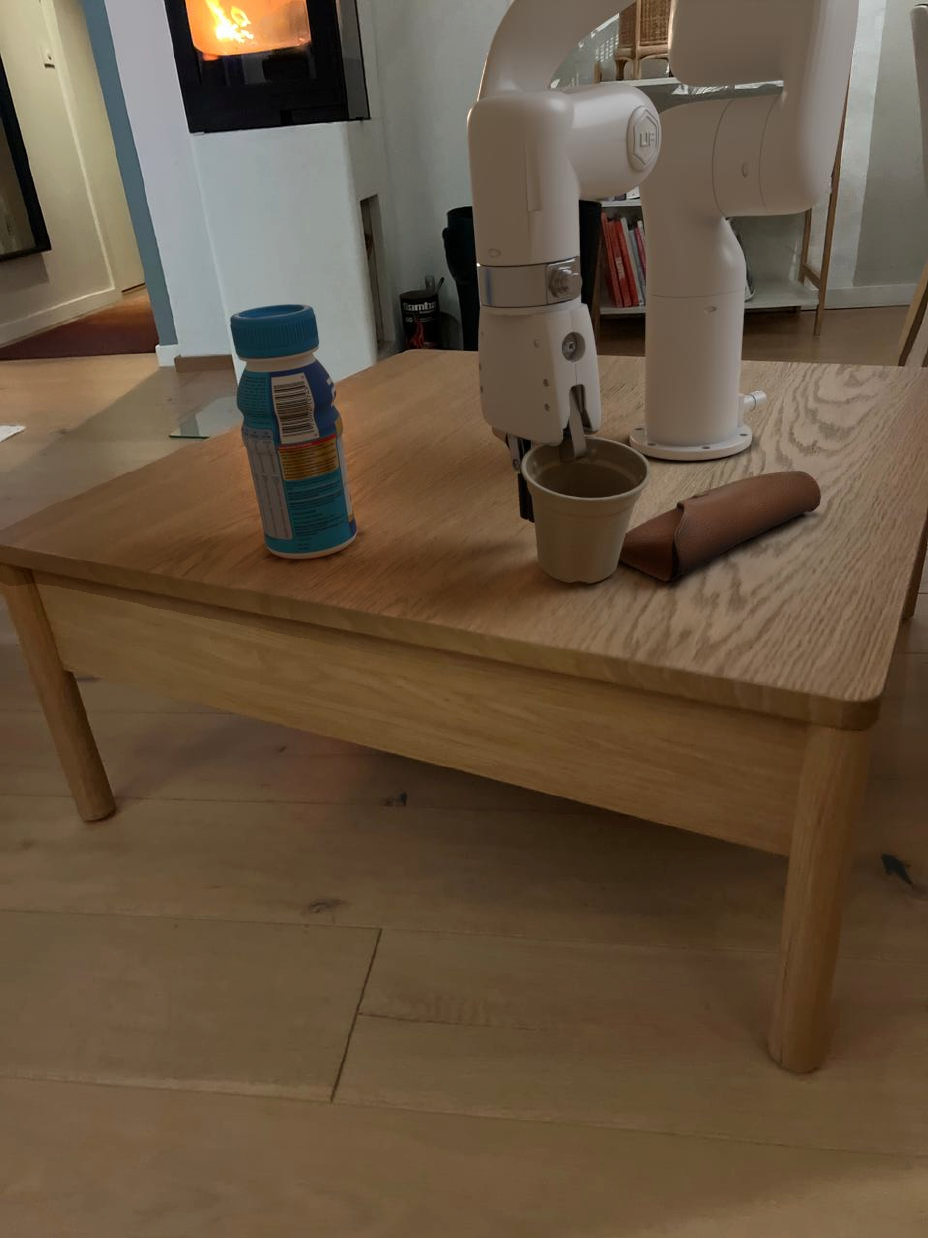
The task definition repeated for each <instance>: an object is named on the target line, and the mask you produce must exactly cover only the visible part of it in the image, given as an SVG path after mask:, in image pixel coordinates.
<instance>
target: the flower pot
mask: <svg viewBox="0 0 928 1238" xmlns="http://www.w3.org/2000/svg"><path fill="white" fill-rule="evenodd" d="M584 436H585V441H586V447H587V457H586V458H583V459H580V460H577V461H574V462H561V461H560V456H559V447H560V446H562V444H563V440H562V442H561V444H559V445H557V446H547V445H546V444H543V443H540V444H539V445H537V446H535V447H533V448H532V449H531V450H529V451H528V452H527V453H526V454H525V456H524V457H523V460H522V462H521V472H522V475H523V477H524V478H525V480H526V481H527V486H528V490H529V492H530V494H531V496H532V504H533V513H534V522H535V523H534V529H535V541H536V550H537V552H536V553H537V560H538V564H539V566H540V568H541V570H543V571H544V572H545V573H546V574H547V575H548V576H550V577H552V578H554V579H556V580H558V581H561V582H564V583H568V584H572V583H575V582H582V583H587V584H594V583H598V582H601V581H604V580H605V579H607V578H608V577H610V576H611V575H612V574H613V573H614V572H615V571H616V569H617V568H618V564H619V556H620V552H621V549H622V545H623V542H624V538H625V535H626V533H627V532H628V528H629V525H630V521H631V517H632V515H633V511H634V508H635V505H636V503H637V502H638V501H639V499H640V497H641V495H642V493H643V490H644V489H645V488H646V487H647V486H648V484H649V483H650V479H651V477H652V467H651V464H650V462H649V460H648V459H647V458H646V457H645V456H644V454H642V453H640V452H638V451H636V450H635V449H633V448H632V447H631V446H629V445H627V444H624V443H623V442H619V441H616V440H613V439H610V438H609V439H608V438H605V437H597V436H591V435H584Z"/></svg>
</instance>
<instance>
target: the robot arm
mask: <svg viewBox="0 0 928 1238" xmlns="http://www.w3.org/2000/svg"><path fill="white" fill-rule="evenodd" d="M637 1H638V0H513V2H511V4H510V6H509V7H508V9H507V10H506V11H505V13H504V15H503V17H502V19H501V20H500V23H499V25H498V26H497V28H496V30H495V32H494V35H493V37H492V40H491V41H490V45H489V48H488V51H487V55H486V58H485V62H484V67H483V73H482V76H481V80H480V86H479V91H478V96H477V101H475V103H473V104H472V105H471V107H470V108H469V111H468V114H467V119H466V138H467V139H466V141H467V157H468V166H469V167H468V169H469V179H470V193H471V194H470V195H471V207H472V218H473V219H472V221H473V231H474V245H475V259H476V271H477V272H476V273H477V285H478V298H479V307H480V308H479V317H478V320H479V321H478V337H477V338H478V341H477V342H478V343H477V347H478V348H477V354H478V355H477V359H478V360H477V362H478V364H477V365H478V386H479V397H480V398H479V399H480V406H481V411H482V417H483V419H484V421H485V423H487V425H489V426H490V427H491V432H492V434H493V436H494V437H496V438H497V439H499V440H500V441H501V442H503V443H504V444H505V445H506V447H507V449H508V450H509V454H510V460H511V465H512V468H513V470H514V472H517V475H516V476H517V489H518V502H519V503H518V505H519V517H520V518H521V519H523V520H525V521H528V522H530V523H532V524H535V522H534V513H533V504H532V496H531V494H530V492H529V490H528V486H527V481H526V480H525V478H524V477H523V475H522V472H521V462H522V460H523V457H524V456H525V454H526V453H527V452H528V451H529V450H531V449H532V448H533V447H535V446H537V445H539V444H540V443H543V444H546V445H547V446H557V445H559V444H561V442H562V440H563V444H562V446H560V447H559V456H560V461H561V462H574V461H577V460H580V459H583V458H586V457H587V447H586V441H585V436H592V435H595V434H597V433H599V432H600V429H601V426H602V422H601V421H602V405H601V403H602V401H601V387H600V386H601V385H600V374H599V363H598V354H597V346H596V340H595V334H594V330H593V324H592V319H591V315H590V312H589V307H588V304H587V303H583V302H582V287H583V277H582V276H581V255H580V254H581V250H580V245H581V244H580V207H579V201H580V200H587V199H588V200H589V199H608V198H614V197H619V196H622V195H625V194H627V193H630V192H631V191H633V190H635V189H636V188H637V189H638V193H639V201H640V207H641V212H642V219H643V230H644V245H645V345H644V346H645V347H644V349H645V353H644V422H642V423H640V424H638V425H636V426H634V428H632V429H631V431H630V432H629V444H630V447H631V448H633V449H635V450H636V451H638V452H639V453H640V454H642V455H645V456H648V457H652V458H656V459H662V460H669V461H670V460H671V461H706V460H713V459H720V458H725V457H729V456H733V455H736V454H738V453H740V452H742V451H744V450H745V449H747V448H748V447H750V445H751V444H752V442H753V441H752V440H753V430H752V428H750V427H749V425H747V424H745V423H744V417H746V416H747V414H748V413H749V412H753V411H756V410H760V409H763V408H764V407H766V405H767V403H768V397H767V395H766V394H767V393H765V392H764V391H763V390H756V391H751V392H749V393H746V394H745V393H742V392H740V385H741V369H742V368H741V367H742V352H743V351H742V350H743V337H744V336H743V333H744V315H745V302H746V301H745V300H746V286H747V264H746V258H745V256H744V255H745V254H744V251H743V249H742V247H741V244H740V243H739V240H738V239H737V237H736V235H735V234H734V232H733V230H732V229H731V227H730V226H729V225H730V224H728V222H727V219H726V218H732V217H763V216H765V217H766V216H785V215H794V214H795V215H796V214H800V213H803V212H806V211H808V210H810V209H813V208H814V207H815V206H816V205H817V204H818V203H819V202H820V201H821V199H822V198H823V197H824V195H825V193H826V191H827V189H828V186H829V183H830V181H831V177H832V174H833V170H834V166H835V162H836V155H837V151H838V146H839V145H838V144H839V139H840V133H841V126H842V122H843V121H842V120H843V114H844V109H845V103H846V98H847V97H846V95H847V90H848V85H849V78H850V73H851V67H852V60H853V54H854V48H855V42H856V36H857V28H858V19H859V7H860V6H859V5H860V0H671V1H670V9H669V18H668V29H667V48H666V49H667V50H666V51H667V60H668V65H669V69H670V73H671V74H672V76H673V77H674V78H675V79H676V81H677V82H679V83H681V84H682V85H685V86H687V87H694V88H720V87H730V86H731V87H732V86H740V85H750V84H759V83H768V82H777V81H778V82H779V81H781V82H782V84H783V86H782V91H781V93H779V94H778V93H777V94H768V95H758V96H747V97H729V98H721V99H711V100H710V99H709V100H701V101H694V102H688V103H683V104H679V105H676V106H673V107H669V108H667V109H666V110H663V111H662V112H659V113H658V111H657V109H656V106H655V104H654V103H653V101H652V100H651V98H650V97H649V96H648V94H646V93H645V92H644V91H642V90H641V89H639V88H637V87H636V86H634V85H631V84H628V83H624V82H613V81H612V82H611V81H609V82H600V83H590V84H583V85H568V86H559V87H558V86H557V87H551V88H549V85H550V83H551V81H552V79H553V78H554V75H555V73H556V72H557V70H558V68H559V67H560V66H561V64H562V63H563V62H564V60H565V59H566V58H567V56H569V54H570V53H571V52H572V51H573V50H574V48H575V47H576V46H578V44H580V43H581V42H582V41H583V40H584V39H585V38H587V36H589V35H590V34H591V33H592V32H594V31H595V30H597V29H598V28H599V27H601V26H602V25H604V24H605V23H607V22H608V21H610V20H611V19H613V18H614V17H616V16H617V15H618V14H620V13H621V12H623V11H624V10H625V9H627V8H628V7H630V6H631V5H632V4H634V3H635V2H637Z"/></svg>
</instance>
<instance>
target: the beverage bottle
mask: <svg viewBox="0 0 928 1238" xmlns="http://www.w3.org/2000/svg"><path fill="white" fill-rule="evenodd" d="M229 321H230V324H229V326H230V332H231V337H232V341H233V346H234V350H235V354H236V356H237V358H238V360H240V361H242V362H245V367H244V368H243V371H242V373H241V376H240V378H239V382H238V385H237V389H236V407H237V409H238V411H239V412H240V413H241V414H242V416H243V421H242V423H241V428H240V434H241V440H242V443H243V445H244V447H245V450H246V454H247V459H248V463H249V468H250V472H251V477H252V482H253V486H254V491H255V496H256V500H257V505H258V511H259V515H260V520H261V525H262V529H263V537H264V542H265V546H266V548H267V549H268V551H269V552H270V553H272V554H273V555H275V556H277V557H279V558H284V559H289V560H310V559H317V558H321V557H325V556H326V557H327V556H328V555H333V554H335V553H337V552H339V551H342V550H344V549H345V548H347V547H349V546H350V545H351V544H352V543H353V542H354V541H355V539H356V537H357V534H358V527H357V521H356V518H355V513H354V508H353V507H354V506H353V501H352V496H351V489H350V483H349V482H350V481H349V474H348V468H347V461H346V455H345V454H346V453H345V448H344V447H345V446H344V440H343V433H344V423H343V420H342V416H341V413H340V412H339V410H338V409H337V408H336V406H335V400H336V396H337V389H336V386H335V384H334V381H333V379H332V377H331V376H330V374H329V372H328V371H327V369H326V368H325V366H324V365H323V364H322V363H321V361H319V359H317V357H316V356H315V355H314V353H315V352H317V351H318V350H319V348H320V346H319V345H320V338H319V329H318V323H317V317H316V313H315V310H314V308H313V307H312V306H310V305H308V304H303V303H301V304H299V303H287V304H274V305H266V306H259V307H254V308H250V309H245V310H242V311H239V312H236V313H234V314H232V315H231V316H230V318H229Z"/></svg>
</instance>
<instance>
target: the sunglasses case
mask: <svg viewBox="0 0 928 1238" xmlns="http://www.w3.org/2000/svg"><path fill="white" fill-rule="evenodd" d="M821 498H822V494H821V488H820V485H819V484H818V482H817V480H816V479H815V478H814V477H813V476H812V475H810V474H809V473H808V472H806V471H801V470H790V471H787V470H786V471H775V472H767V473H763V474H758V475H753V476H749V477H745V478H741V479H738V480H735V481H734V480H733V481H731V482H729V483H726V484H724V485H720V486H716V487H714V488H710V489H707V490H704V491H701V492H698V493H695V494H693V495H691V496H690V497H687V498H685V499H683V500H679V501H678V502H677V503H676V507H675V508H673V509H670V510H667V511H665V512H663V513H661V514H659V515H657V516H654V517H653V518H650V519H648V520H646V521H645V522H642V523H641V524H639V525H637V526H636V527H633V528H632V529H630V530H627V531H626V535H625V538H624V542H623V545H622V549H621V552H620V556H619V560H618V562H621V563H622V564H624V565H625V566H628V567H629V568H631V569H633V570H636V571H637V572H640V573H642V574H645V575H647V576H649V577H651V578H654V579H656V580H657V581H661V582H663V583H669V582H674V581H675V580H676V579H677V578H678V577H679V576H681V575H687V574H689V573H690V572H692V571H695V569H697V568H700V567H701V566H703V565H704V564H706V563H707V562H709V561H711V560H714V559H715V558H716V557H718V556H719V555H720V554H722V553H725V552H727V551H729V550H730V549H732V548H733V547H735V546H737V545H738V544H739V543H744V542H745V541H748V540H749V539H752V538H755V537H756V536H758V535H761V534H762V533H764V532H766V531H768V530H769V529H771V528H774V527H777V526H779V525H782V524H784V523H786V522H787V521H789V520H792V519H794V518H796V517H798V516H801V515H803V514H805V513H807V512H808V513H812V512H814V511H815V510H816V509H817V508H818V507H819V506H820V504H821Z"/></svg>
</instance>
